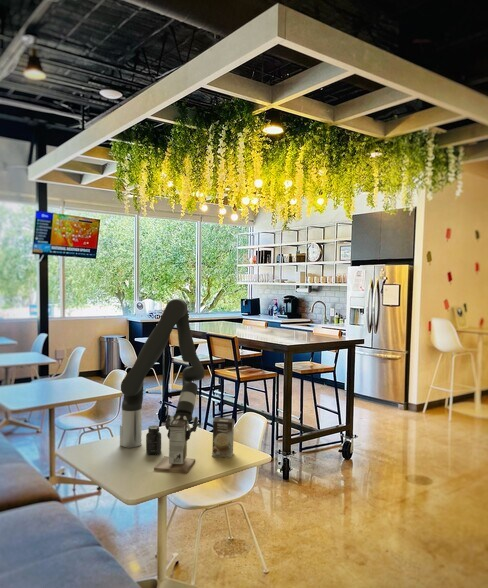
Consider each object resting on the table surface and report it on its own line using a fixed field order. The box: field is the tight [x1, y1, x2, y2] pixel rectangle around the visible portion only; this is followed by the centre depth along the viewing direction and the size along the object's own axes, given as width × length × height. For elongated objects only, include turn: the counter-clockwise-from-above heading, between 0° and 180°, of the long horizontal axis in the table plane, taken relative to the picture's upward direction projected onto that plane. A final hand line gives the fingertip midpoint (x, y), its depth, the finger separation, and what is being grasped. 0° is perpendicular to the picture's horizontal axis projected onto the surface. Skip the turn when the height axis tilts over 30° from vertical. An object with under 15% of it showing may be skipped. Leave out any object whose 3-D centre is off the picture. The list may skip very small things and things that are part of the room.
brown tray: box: [153, 455, 196, 474], centre depth 203 cm, size 14×13×1 cm
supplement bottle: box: [145, 425, 162, 456], centre depth 217 cm, size 7×7×12 cm
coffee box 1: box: [168, 419, 188, 464], centre depth 203 cm, size 9×6×16 cm
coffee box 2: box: [211, 416, 235, 459], centre depth 217 cm, size 9×6×16 cm
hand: (177, 439), depth 202 cm, fingers closed on coffee box 1, 7 cm apart
